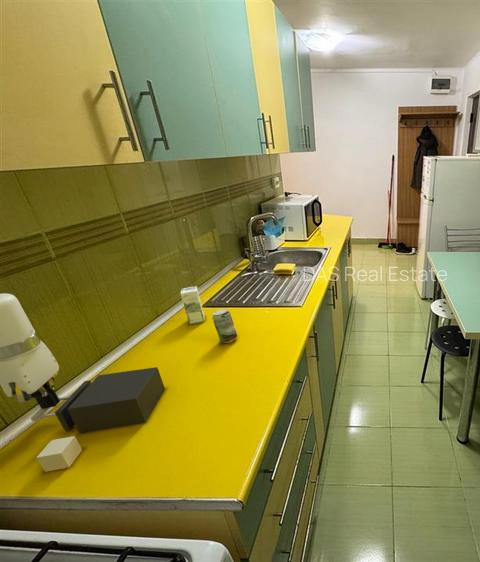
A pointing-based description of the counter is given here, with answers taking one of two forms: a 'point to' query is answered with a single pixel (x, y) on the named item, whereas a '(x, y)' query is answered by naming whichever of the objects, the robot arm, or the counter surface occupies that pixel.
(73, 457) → the block
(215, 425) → the counter surface
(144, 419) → the dark grey drawer box
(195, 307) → the syrup box
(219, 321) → the beverage can
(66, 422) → the dark grey drawer
